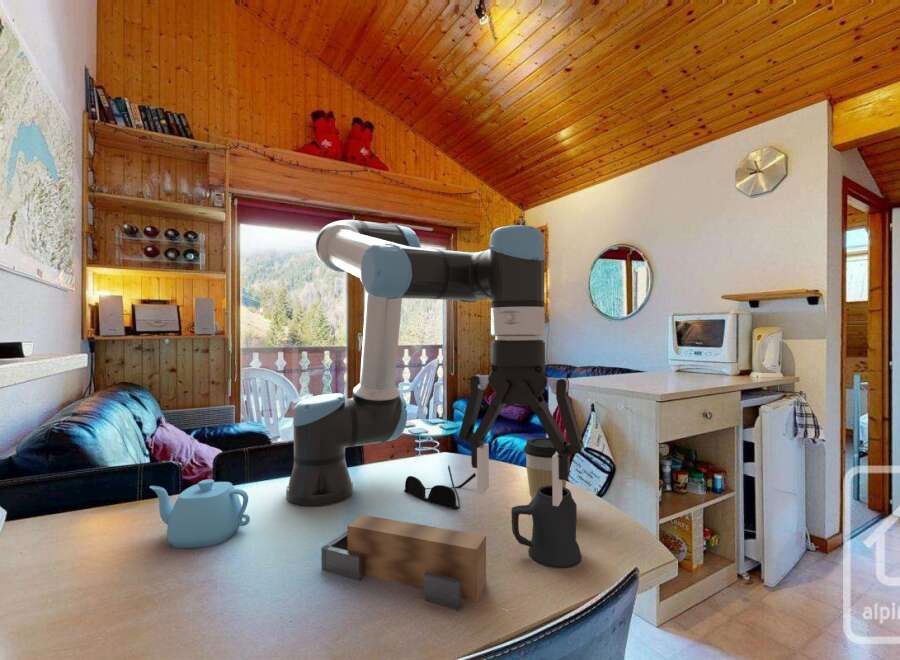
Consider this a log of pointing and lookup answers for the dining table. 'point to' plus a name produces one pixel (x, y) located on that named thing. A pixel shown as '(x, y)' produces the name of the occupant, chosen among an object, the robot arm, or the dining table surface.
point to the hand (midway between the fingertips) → (519, 496)
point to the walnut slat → (419, 553)
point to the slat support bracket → (341, 559)
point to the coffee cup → (539, 463)
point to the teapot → (203, 514)
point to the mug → (550, 529)
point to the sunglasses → (435, 491)
